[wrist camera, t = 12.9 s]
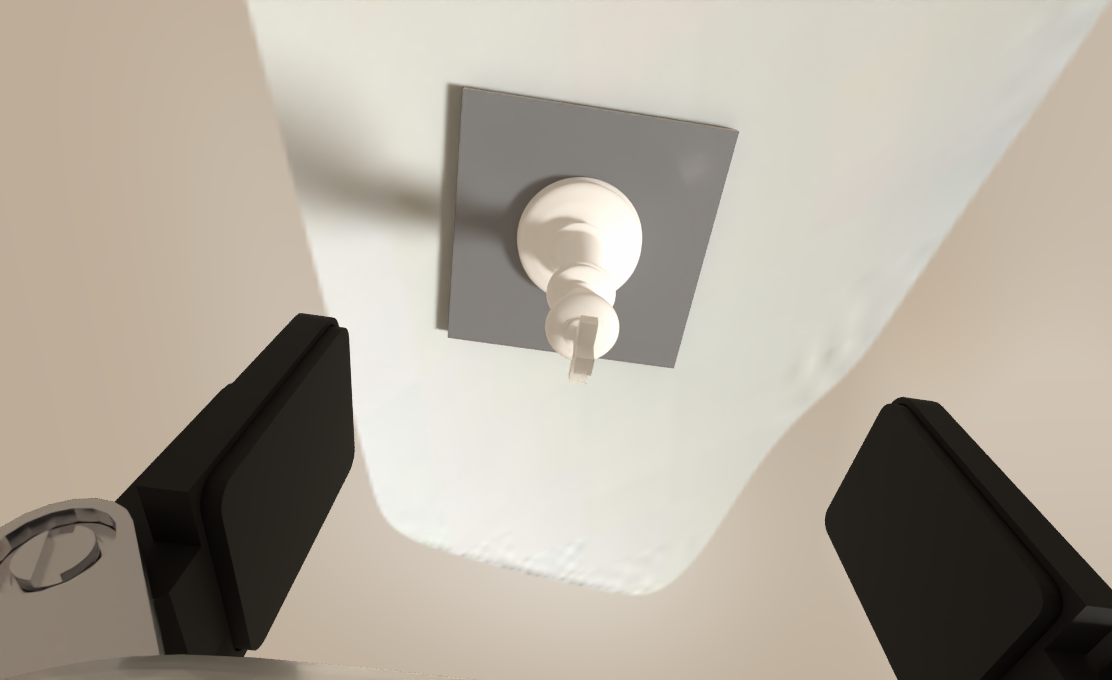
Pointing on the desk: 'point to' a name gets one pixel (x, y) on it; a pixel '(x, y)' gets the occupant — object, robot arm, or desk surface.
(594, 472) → the desk surface
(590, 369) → the chess piece
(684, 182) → the coaster
